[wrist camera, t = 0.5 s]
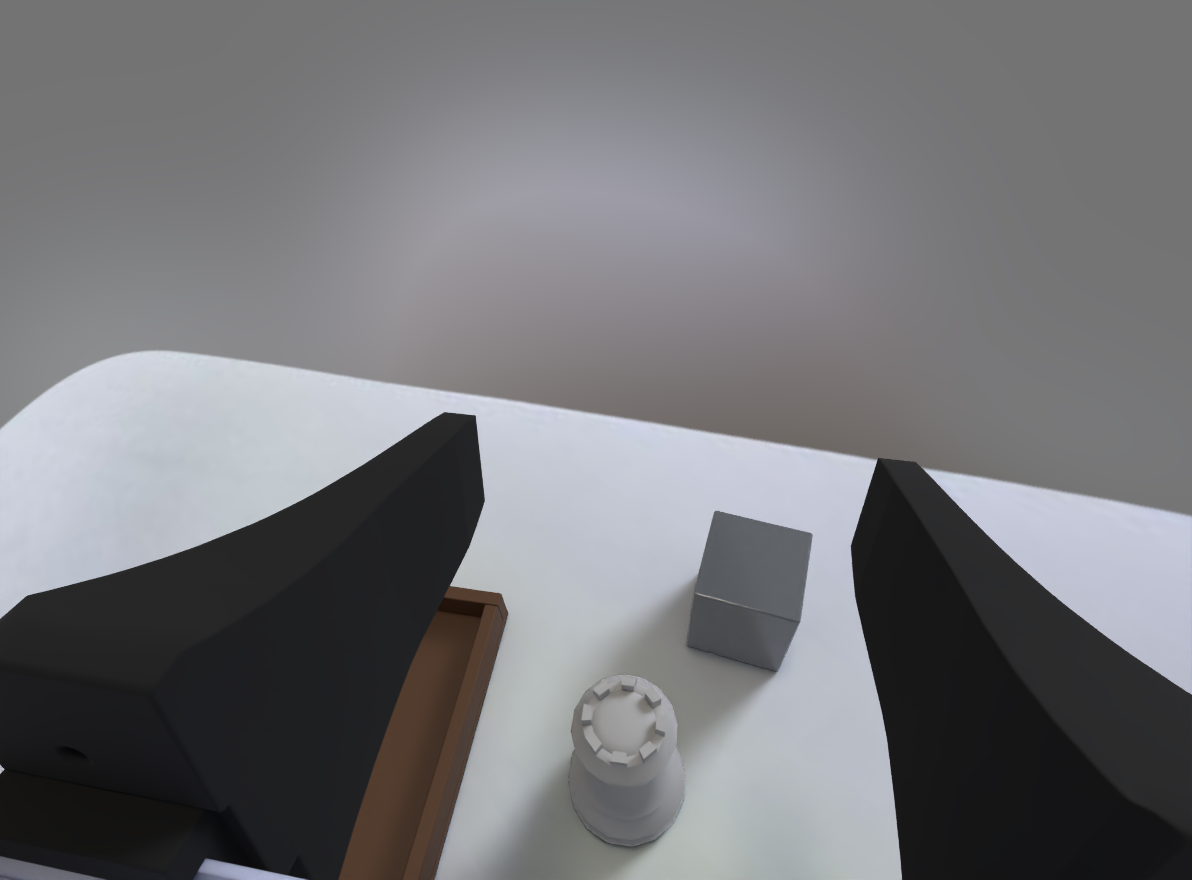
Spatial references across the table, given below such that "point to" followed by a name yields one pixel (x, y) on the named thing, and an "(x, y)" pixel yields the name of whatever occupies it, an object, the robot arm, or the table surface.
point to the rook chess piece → (626, 761)
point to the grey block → (749, 590)
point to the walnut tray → (427, 743)
